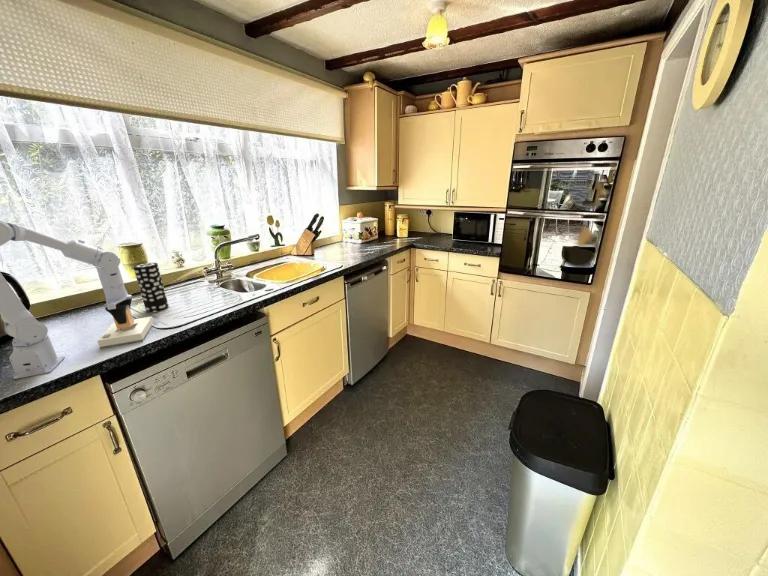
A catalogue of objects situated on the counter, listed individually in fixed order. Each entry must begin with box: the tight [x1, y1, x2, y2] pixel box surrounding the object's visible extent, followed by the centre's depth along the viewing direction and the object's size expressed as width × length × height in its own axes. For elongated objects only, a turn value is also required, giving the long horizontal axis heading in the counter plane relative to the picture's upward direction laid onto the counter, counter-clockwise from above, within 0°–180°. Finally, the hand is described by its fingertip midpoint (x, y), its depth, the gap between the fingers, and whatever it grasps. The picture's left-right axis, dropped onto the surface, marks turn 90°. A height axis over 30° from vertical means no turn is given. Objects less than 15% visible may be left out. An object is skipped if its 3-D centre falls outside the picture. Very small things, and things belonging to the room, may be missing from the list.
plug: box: [112, 305, 134, 329], centre depth 110 cm, size 4×4×7 cm
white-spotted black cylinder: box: [133, 262, 170, 313], centre depth 133 cm, size 8×8×20 cm
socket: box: [97, 316, 154, 350], centre depth 112 cm, size 16×12×3 cm
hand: (124, 321), depth 111 cm, fingers closed on plug, 4 cm apart
